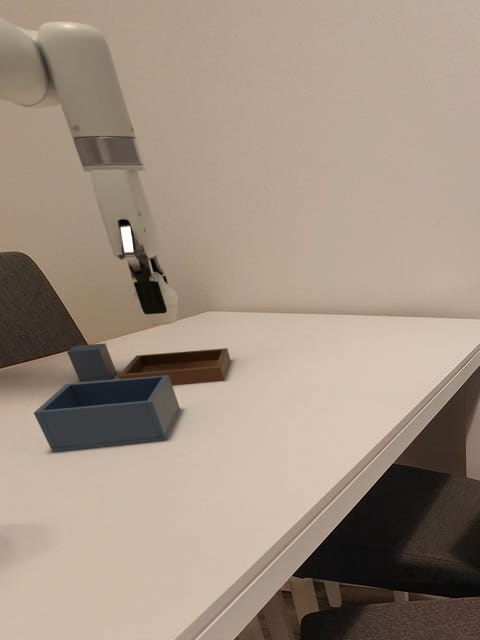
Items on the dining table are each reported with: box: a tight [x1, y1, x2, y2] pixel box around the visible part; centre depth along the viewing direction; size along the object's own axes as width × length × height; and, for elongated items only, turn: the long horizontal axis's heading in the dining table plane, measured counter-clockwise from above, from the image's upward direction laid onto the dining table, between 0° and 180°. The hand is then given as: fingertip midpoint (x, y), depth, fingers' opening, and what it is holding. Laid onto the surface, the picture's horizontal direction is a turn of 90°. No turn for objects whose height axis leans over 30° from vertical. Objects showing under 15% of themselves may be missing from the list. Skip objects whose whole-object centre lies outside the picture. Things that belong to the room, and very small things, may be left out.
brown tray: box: [118, 347, 232, 386], centre depth 94 cm, size 15×14×2 cm
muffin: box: [133, 272, 179, 326], centre depth 88 cm, size 6×6×7 cm
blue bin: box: [33, 375, 181, 454], centre depth 72 cm, size 12×12×5 cm
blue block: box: [67, 343, 117, 383], centre depth 94 cm, size 4×4×4 cm
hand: (159, 308), depth 89 cm, fingers closed on muffin, 6 cm apart
